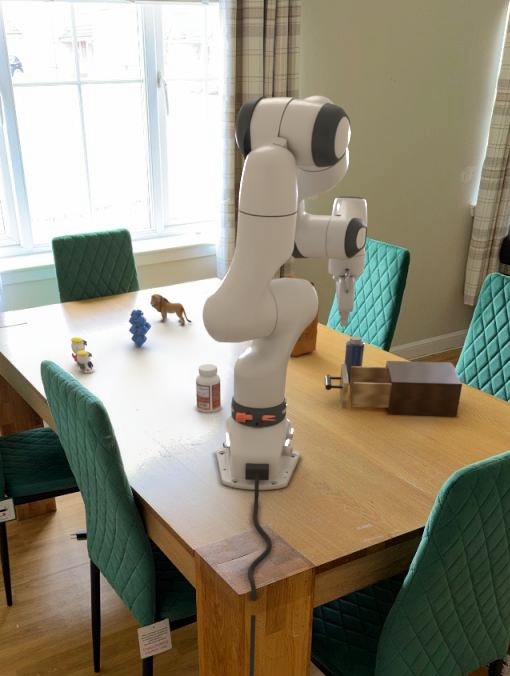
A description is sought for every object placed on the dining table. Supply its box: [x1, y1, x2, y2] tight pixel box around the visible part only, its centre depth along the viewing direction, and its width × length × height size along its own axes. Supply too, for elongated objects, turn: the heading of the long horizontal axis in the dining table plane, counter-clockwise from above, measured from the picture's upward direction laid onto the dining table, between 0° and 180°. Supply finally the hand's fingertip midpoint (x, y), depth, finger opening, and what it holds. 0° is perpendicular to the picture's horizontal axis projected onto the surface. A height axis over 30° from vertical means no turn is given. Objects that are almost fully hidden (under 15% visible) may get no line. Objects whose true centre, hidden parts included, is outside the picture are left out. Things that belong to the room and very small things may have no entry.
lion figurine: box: [150, 293, 192, 326], centre depth 251 cm, size 15×5×9 cm, turn 70°
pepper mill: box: [344, 335, 365, 384], centre depth 203 cm, size 5×5×12 cm
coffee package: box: [288, 273, 320, 357], centre depth 222 cm, size 10×12×22 cm
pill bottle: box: [195, 363, 222, 413], centre depth 189 cm, size 6×6×11 cm
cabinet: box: [385, 360, 463, 418], centre depth 190 cm, size 17×15×9 cm
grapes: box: [128, 308, 152, 348], centre depth 230 cm, size 12×7×12 cm, turn 24°
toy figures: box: [70, 336, 94, 374], centre depth 215 cm, size 12×4×8 cm, turn 23°
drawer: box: [324, 363, 391, 410], centre depth 191 cm, size 20×14×7 cm
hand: (343, 320), depth 192 cm, fingers open, 8 cm apart
